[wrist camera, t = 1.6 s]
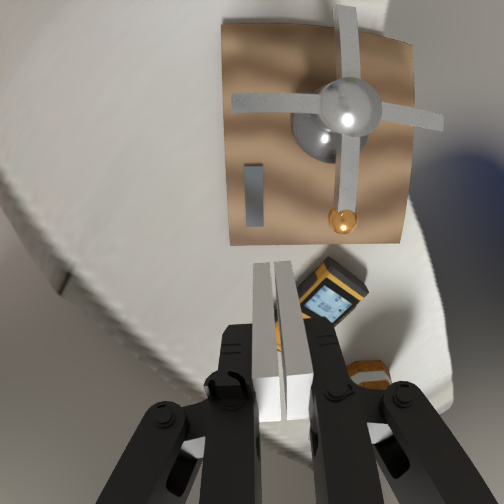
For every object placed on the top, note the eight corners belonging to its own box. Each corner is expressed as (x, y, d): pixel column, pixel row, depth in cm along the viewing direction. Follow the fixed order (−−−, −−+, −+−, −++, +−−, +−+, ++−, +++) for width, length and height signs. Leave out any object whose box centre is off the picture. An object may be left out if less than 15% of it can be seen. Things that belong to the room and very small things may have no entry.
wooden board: (222, 27, 23) (220, 23, 22) (407, 46, 23) (413, 44, 21) (230, 241, 35) (229, 246, 34) (395, 239, 35) (400, 244, 33)
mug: (355, 351, 44) (378, 423, 31) (401, 366, 47) (426, 426, 34) (293, 408, 52) (299, 470, 39) (341, 416, 55) (351, 471, 42)
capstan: (235, 26, 22) (228, -3, 15) (403, 44, 22) (442, 31, 14) (240, 209, 32) (236, 241, 24) (396, 210, 31) (431, 239, 24)
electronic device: (254, 326, 42) (254, 342, 39) (325, 252, 36) (330, 265, 33) (296, 348, 44) (297, 363, 41) (365, 283, 38) (373, 297, 35)
